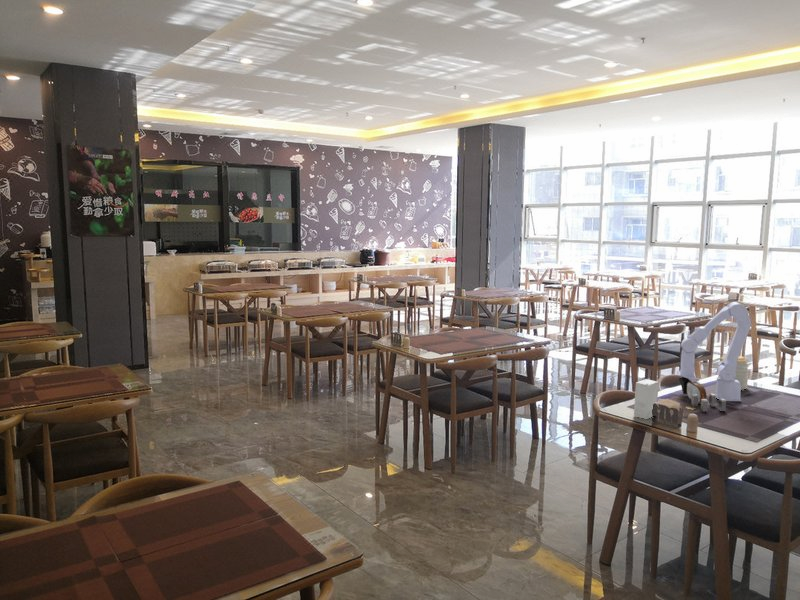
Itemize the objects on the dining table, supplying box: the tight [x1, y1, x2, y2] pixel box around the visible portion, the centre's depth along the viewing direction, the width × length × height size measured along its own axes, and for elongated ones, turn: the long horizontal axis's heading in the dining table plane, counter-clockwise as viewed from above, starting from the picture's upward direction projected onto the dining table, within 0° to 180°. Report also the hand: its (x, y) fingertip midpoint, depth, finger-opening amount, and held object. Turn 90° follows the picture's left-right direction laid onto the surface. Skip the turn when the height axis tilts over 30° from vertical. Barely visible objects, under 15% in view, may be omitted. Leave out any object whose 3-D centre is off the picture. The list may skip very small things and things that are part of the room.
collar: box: [690, 393, 717, 407], centre depth 271 cm, size 10×2×5 cm, turn 92°
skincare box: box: [633, 378, 660, 420], centre depth 254 cm, size 8×6×15 cm
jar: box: [717, 354, 750, 391], centre depth 301 cm, size 13×13×18 cm
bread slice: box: [686, 381, 708, 405], centre depth 277 cm, size 15×3×8 cm, turn 178°
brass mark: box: [685, 406, 697, 411], centre depth 267 cm, size 4×4×1 cm
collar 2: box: [700, 399, 727, 413], centre depth 263 cm, size 10×2×5 cm, turn 92°
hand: (685, 393), depth 286 cm, fingers closed
